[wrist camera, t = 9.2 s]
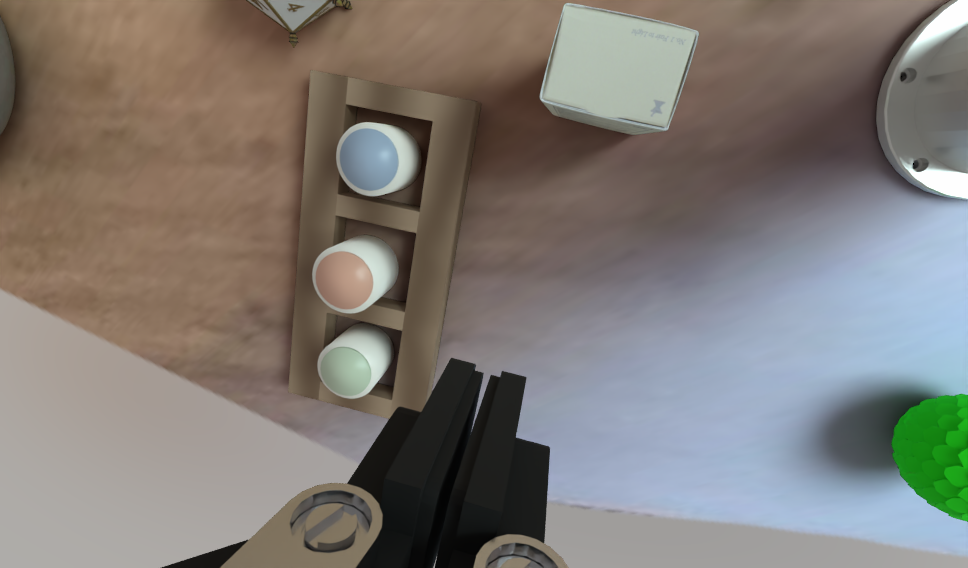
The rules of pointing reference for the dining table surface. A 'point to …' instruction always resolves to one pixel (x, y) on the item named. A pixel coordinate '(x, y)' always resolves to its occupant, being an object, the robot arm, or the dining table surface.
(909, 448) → the ornament
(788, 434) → the dining table surface
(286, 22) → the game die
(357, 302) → the small jar
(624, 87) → the skincare box
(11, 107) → the bowl
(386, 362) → the white round cylinder
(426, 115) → the rack with square compartments
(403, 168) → the small jar
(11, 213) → the dining table surface
